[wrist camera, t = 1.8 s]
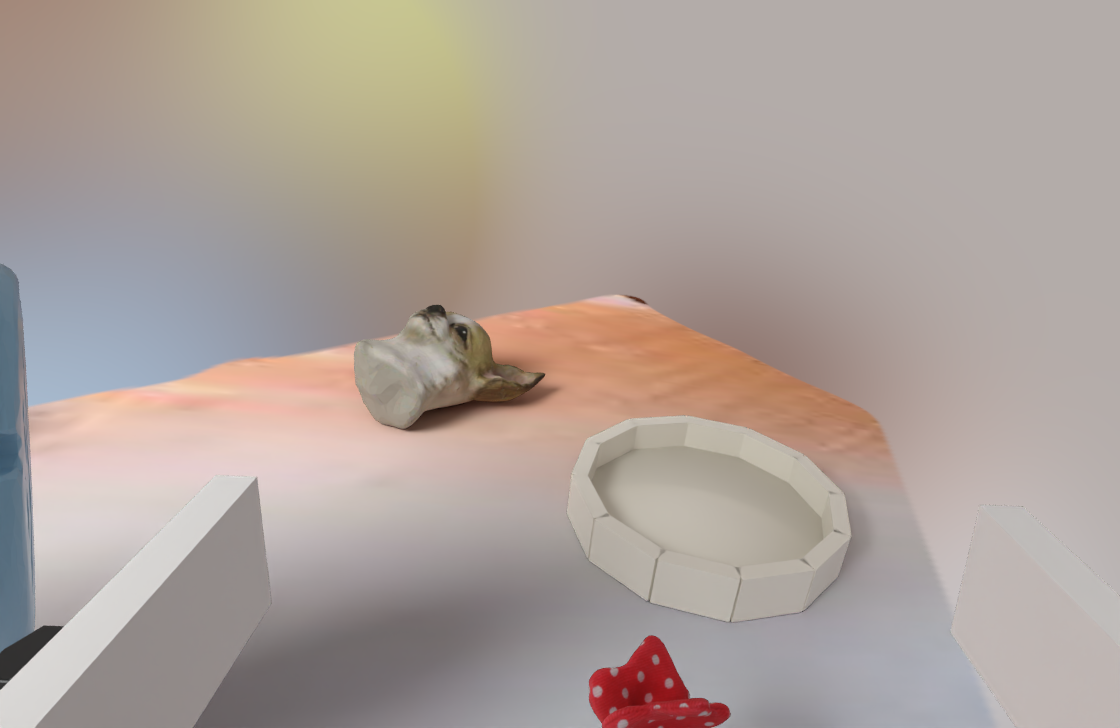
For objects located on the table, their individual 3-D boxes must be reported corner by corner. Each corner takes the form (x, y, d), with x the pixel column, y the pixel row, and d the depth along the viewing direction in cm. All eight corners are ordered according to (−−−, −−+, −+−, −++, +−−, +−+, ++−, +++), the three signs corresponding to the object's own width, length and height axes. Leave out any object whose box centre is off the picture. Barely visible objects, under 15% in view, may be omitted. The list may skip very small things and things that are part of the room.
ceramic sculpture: (314, 297, 54) (469, 271, 65) (312, 404, 58) (460, 363, 69) (407, 349, 48) (561, 311, 59) (399, 465, 52) (545, 409, 63)
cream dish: (540, 575, 43) (545, 533, 42) (599, 432, 58) (603, 398, 57) (848, 651, 40) (863, 609, 39) (826, 480, 55) (836, 445, 54)
